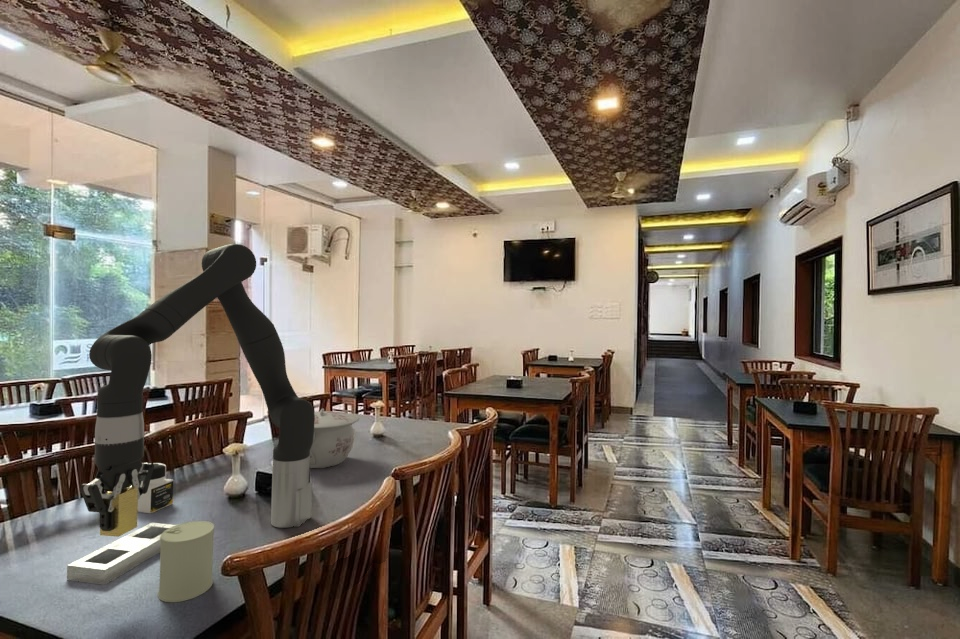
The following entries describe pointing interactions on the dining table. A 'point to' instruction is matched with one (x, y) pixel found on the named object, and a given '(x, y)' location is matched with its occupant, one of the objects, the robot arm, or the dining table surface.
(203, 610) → the dining table surface
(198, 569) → the can
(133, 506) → the yellow block
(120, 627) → the dining table surface
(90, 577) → the rail
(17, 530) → the dining table surface
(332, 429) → the chamber pot
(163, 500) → the medicine bottle
